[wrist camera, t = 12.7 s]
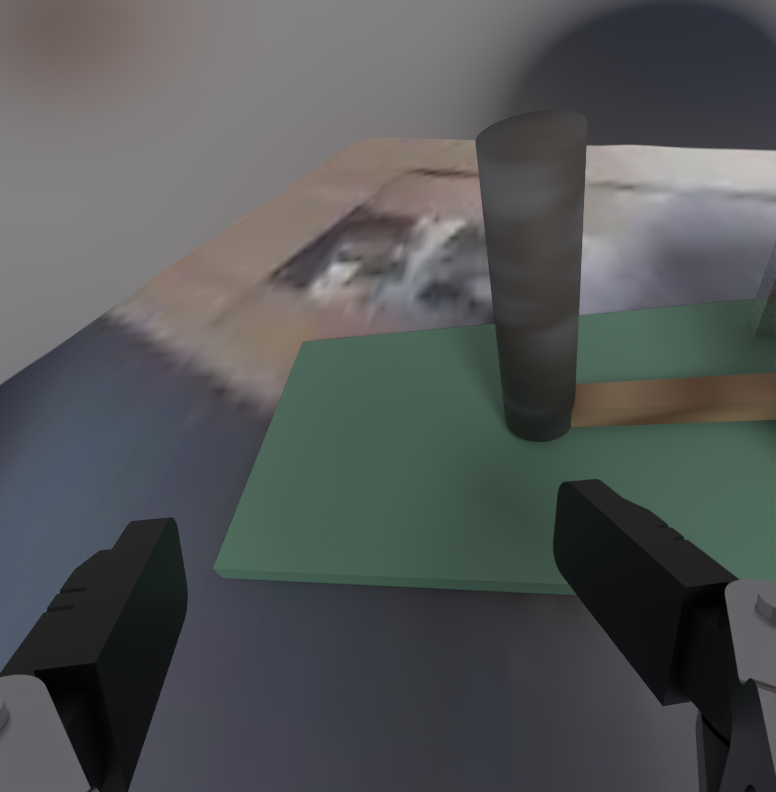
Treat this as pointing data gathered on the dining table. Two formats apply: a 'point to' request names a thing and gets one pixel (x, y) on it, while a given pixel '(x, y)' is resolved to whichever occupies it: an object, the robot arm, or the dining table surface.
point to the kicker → (569, 295)
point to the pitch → (495, 459)
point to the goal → (765, 303)
